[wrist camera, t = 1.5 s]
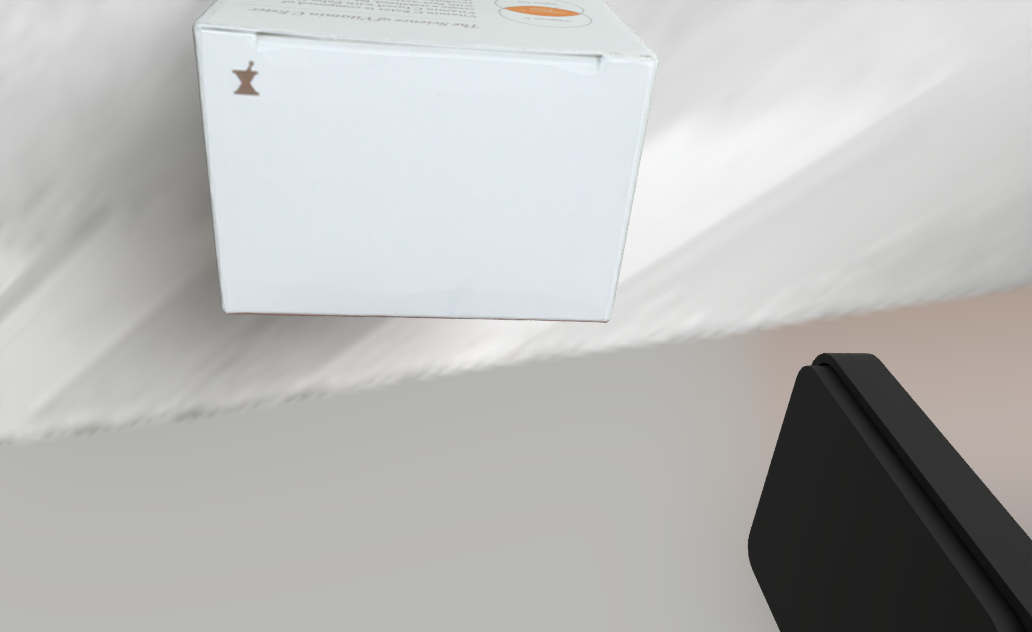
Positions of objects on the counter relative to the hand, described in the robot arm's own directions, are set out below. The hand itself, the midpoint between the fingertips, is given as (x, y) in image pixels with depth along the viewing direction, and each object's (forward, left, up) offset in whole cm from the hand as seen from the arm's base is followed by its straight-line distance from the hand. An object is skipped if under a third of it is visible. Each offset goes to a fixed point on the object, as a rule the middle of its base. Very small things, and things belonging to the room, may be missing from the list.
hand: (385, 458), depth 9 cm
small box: (0, 0, -18) cm, 18 cm away
